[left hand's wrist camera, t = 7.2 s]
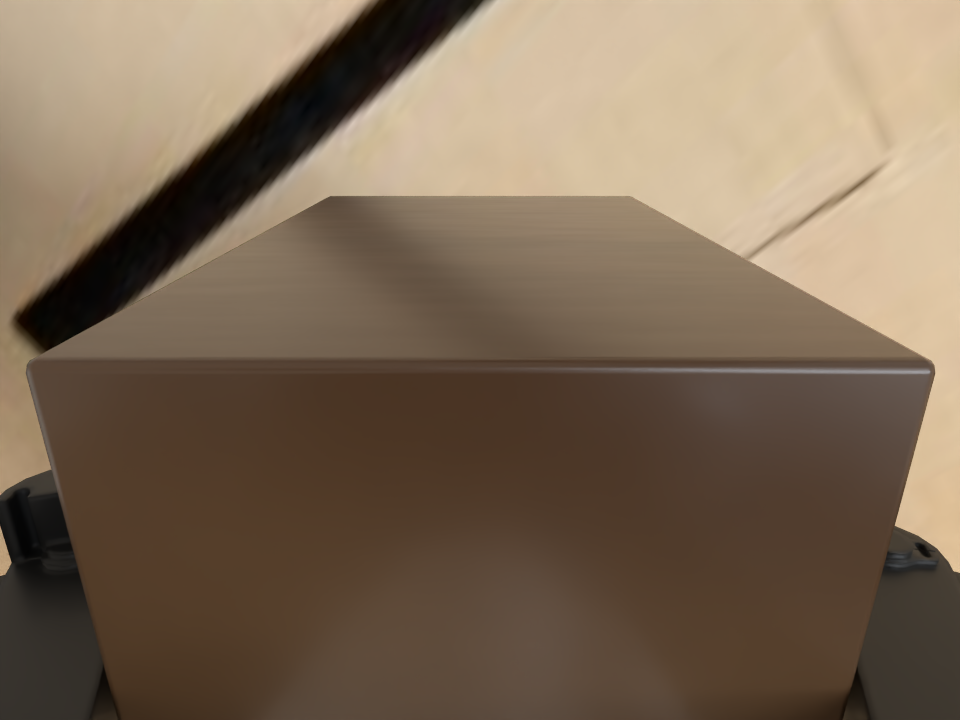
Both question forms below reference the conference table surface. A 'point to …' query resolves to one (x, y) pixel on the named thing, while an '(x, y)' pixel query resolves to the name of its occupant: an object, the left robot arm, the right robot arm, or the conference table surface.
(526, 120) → the conference table surface
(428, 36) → the conference table surface
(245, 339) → the box
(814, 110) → the conference table surface
